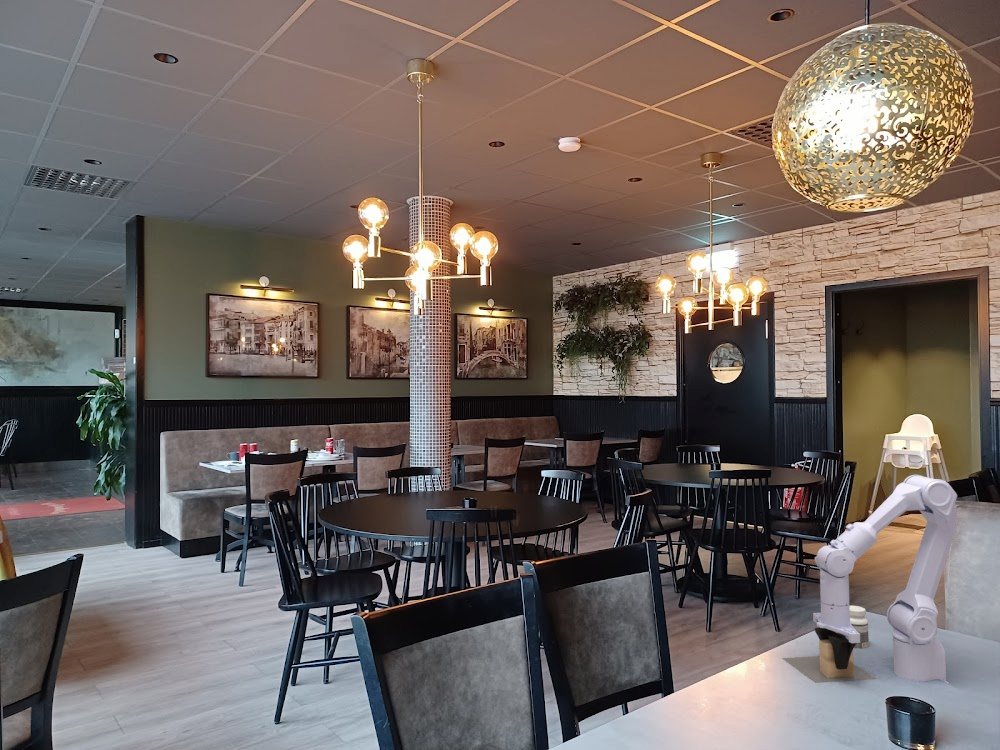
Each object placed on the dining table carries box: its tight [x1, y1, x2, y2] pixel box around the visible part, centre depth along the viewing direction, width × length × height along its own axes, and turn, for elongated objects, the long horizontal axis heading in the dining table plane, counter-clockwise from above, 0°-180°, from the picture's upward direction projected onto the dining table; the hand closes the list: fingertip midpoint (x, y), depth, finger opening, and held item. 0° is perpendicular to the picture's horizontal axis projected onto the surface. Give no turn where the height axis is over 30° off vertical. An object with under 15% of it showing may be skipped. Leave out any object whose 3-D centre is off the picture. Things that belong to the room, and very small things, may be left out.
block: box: [818, 639, 855, 678], centre depth 156 cm, size 6×3×7 cm, turn 96°
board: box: [781, 655, 878, 684], centre depth 159 cm, size 14×14×1 cm
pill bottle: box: [850, 605, 870, 649], centre depth 174 cm, size 6×6×10 cm
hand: (836, 665), depth 156 cm, fingers open, 3 cm apart
